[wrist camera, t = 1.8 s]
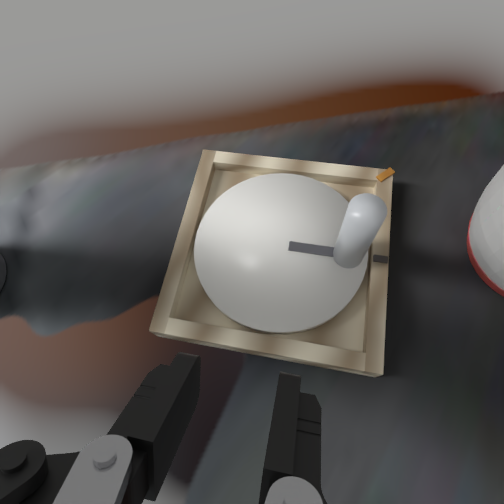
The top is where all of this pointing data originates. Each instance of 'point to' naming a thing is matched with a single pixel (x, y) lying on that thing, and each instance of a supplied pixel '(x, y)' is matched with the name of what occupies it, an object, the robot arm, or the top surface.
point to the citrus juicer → (489, 234)
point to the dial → (285, 251)
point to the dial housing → (279, 345)
